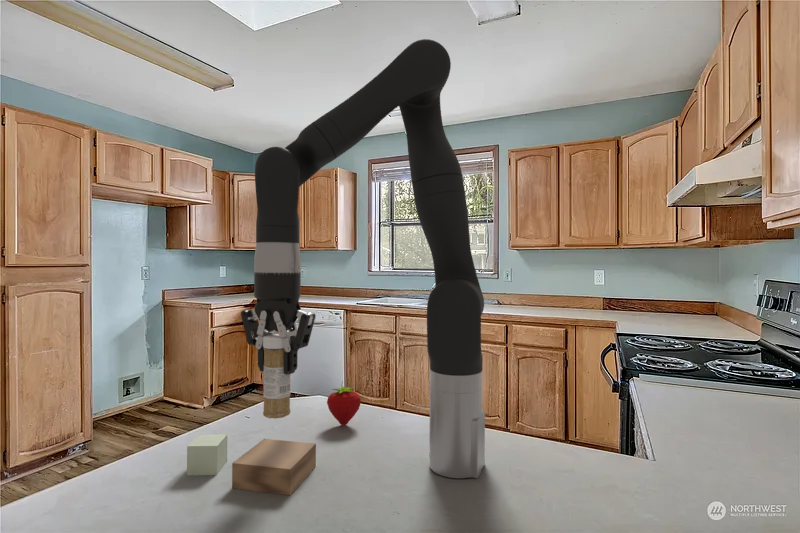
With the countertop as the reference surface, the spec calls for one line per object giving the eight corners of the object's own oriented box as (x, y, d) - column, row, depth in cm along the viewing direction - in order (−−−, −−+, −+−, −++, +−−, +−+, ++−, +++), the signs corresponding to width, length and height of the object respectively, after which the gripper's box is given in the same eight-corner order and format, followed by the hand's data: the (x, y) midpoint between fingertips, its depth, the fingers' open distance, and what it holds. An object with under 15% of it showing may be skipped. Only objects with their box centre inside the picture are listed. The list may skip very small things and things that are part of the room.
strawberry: (360, 430, 94) (360, 384, 94) (325, 430, 94) (325, 384, 94) (361, 420, 100) (361, 377, 100) (328, 420, 100) (328, 377, 100)
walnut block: (315, 466, 77) (315, 443, 77) (290, 495, 68) (290, 469, 68) (264, 460, 79) (264, 438, 79) (232, 488, 70) (232, 463, 70)
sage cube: (227, 462, 79) (227, 434, 79) (217, 475, 74) (217, 445, 74) (198, 462, 79) (199, 434, 79) (186, 475, 74) (187, 446, 74)
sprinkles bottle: (283, 408, 77) (284, 332, 77) (295, 415, 73) (296, 335, 73) (258, 414, 74) (258, 334, 74) (268, 421, 70) (269, 338, 70)
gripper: (326, 270, 74) (325, 371, 74) (258, 269, 80) (258, 363, 80) (300, 271, 67) (299, 382, 67) (228, 270, 73) (227, 373, 73)
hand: (277, 371), depth 74 cm, fingers closed on sprinkles bottle, 4 cm apart
